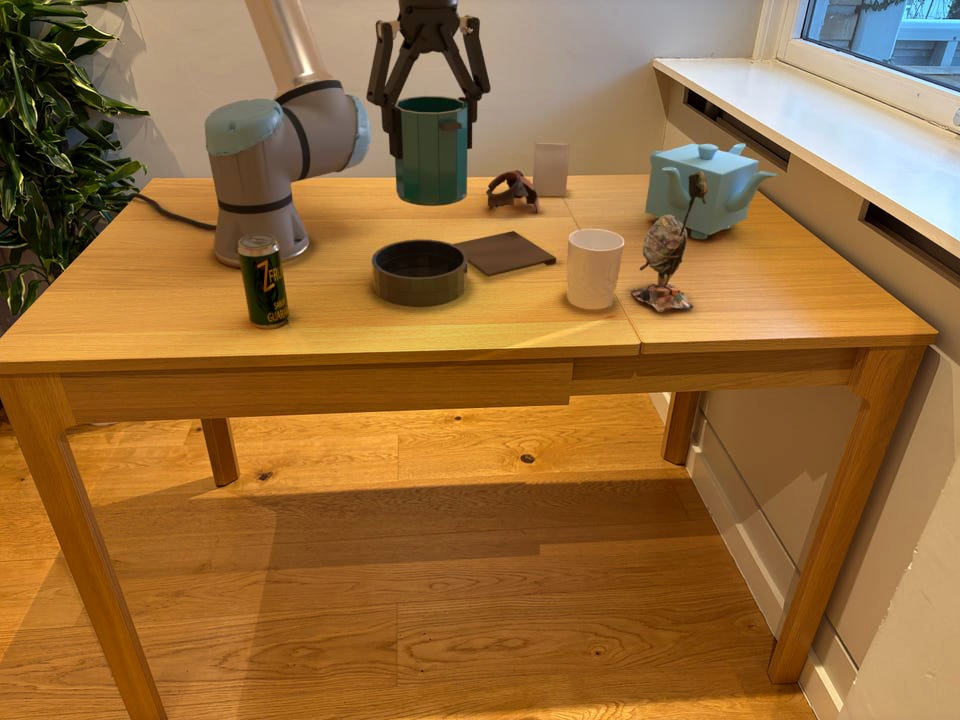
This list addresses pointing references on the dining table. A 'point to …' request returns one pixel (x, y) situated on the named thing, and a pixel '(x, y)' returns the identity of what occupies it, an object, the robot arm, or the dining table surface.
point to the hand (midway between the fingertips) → (431, 151)
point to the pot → (432, 150)
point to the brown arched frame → (512, 190)
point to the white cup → (593, 267)
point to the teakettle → (725, 178)
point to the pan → (420, 272)
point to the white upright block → (550, 169)
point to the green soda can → (263, 280)
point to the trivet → (504, 253)
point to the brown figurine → (668, 253)
